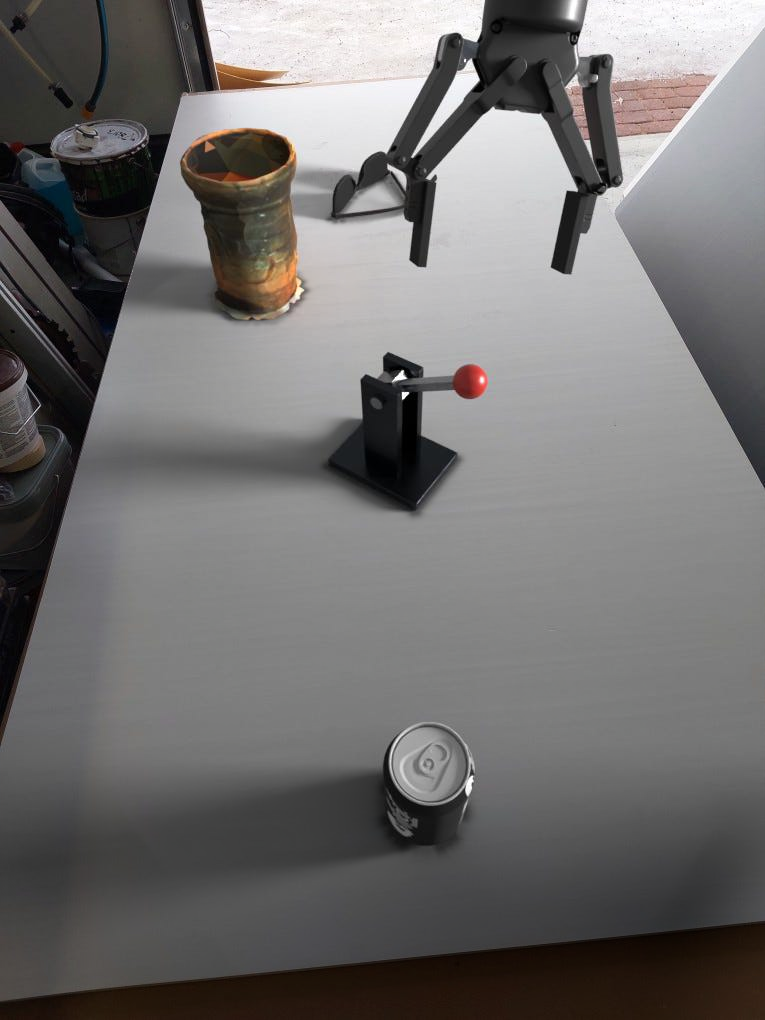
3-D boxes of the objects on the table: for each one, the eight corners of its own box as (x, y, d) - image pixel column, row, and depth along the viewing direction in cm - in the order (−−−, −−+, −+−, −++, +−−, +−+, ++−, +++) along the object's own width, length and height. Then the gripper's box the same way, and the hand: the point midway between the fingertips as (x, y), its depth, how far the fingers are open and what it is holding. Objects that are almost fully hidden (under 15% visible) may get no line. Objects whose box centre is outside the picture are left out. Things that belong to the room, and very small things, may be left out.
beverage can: (368, 805, 58) (362, 762, 48) (422, 749, 61) (426, 697, 51) (426, 866, 55) (432, 833, 45) (479, 804, 58) (496, 761, 48)
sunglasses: (400, 243, 107) (400, 213, 103) (325, 217, 112) (322, 187, 108) (453, 194, 115) (455, 164, 111) (381, 172, 120) (380, 142, 116)
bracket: (457, 459, 80) (466, 369, 69) (415, 511, 76) (418, 424, 65) (372, 418, 85) (368, 328, 73) (328, 465, 80) (317, 376, 69)
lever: (498, 385, 64) (486, 355, 62) (481, 405, 63) (468, 376, 61) (397, 390, 73) (384, 365, 72) (380, 408, 72) (367, 383, 70)
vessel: (332, 284, 101) (319, 144, 85) (266, 335, 94) (239, 194, 78) (260, 251, 106) (235, 114, 90) (192, 298, 100) (153, 158, 84)
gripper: (660, -5, 56) (595, 264, 67) (363, -55, 50) (344, 251, 61) (719, -16, 50) (637, 283, 61) (388, -75, 44) (362, 270, 55)
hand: (491, 268), depth 61 cm, fingers open, 13 cm apart
